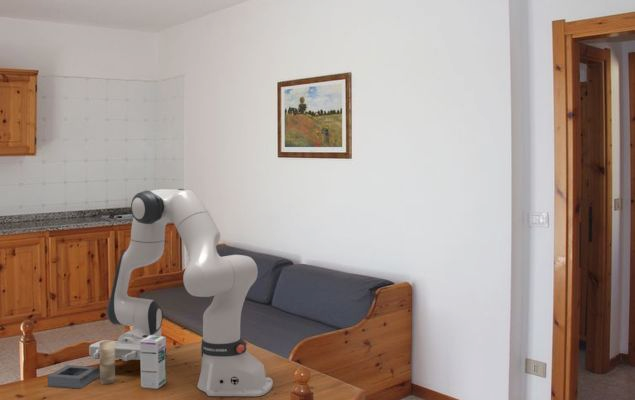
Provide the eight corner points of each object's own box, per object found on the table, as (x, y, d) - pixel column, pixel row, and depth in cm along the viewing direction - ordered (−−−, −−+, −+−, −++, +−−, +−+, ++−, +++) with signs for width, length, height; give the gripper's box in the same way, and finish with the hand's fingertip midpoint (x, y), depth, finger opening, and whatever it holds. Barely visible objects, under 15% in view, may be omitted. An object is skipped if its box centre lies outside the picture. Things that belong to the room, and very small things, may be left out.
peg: (117, 379, 193) (117, 341, 193) (110, 384, 189) (110, 345, 188) (104, 378, 194) (104, 340, 194) (97, 383, 190) (96, 344, 189)
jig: (98, 376, 196) (98, 367, 196) (80, 388, 185) (80, 378, 185) (67, 374, 198) (67, 365, 197) (47, 386, 187) (47, 376, 187)
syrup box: (158, 389, 186) (158, 340, 185) (139, 387, 187) (139, 339, 186) (166, 382, 191) (166, 335, 190) (148, 381, 192) (148, 334, 192)
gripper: (101, 333, 208) (78, 345, 194) (159, 337, 204) (140, 349, 191) (101, 352, 208) (78, 365, 195) (159, 356, 205) (140, 370, 191)
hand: (109, 357), depth 193 cm, fingers open, 8 cm apart
